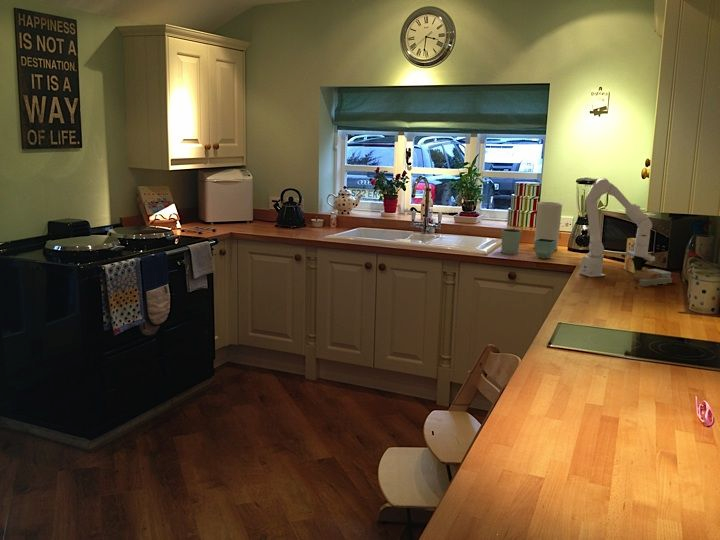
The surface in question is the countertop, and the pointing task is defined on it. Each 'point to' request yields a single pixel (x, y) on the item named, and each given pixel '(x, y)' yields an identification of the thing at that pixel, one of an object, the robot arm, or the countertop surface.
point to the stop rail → (655, 281)
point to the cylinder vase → (548, 221)
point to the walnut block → (644, 275)
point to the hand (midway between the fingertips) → (637, 273)
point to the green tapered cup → (510, 241)
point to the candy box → (628, 259)
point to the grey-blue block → (661, 273)
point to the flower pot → (544, 247)
